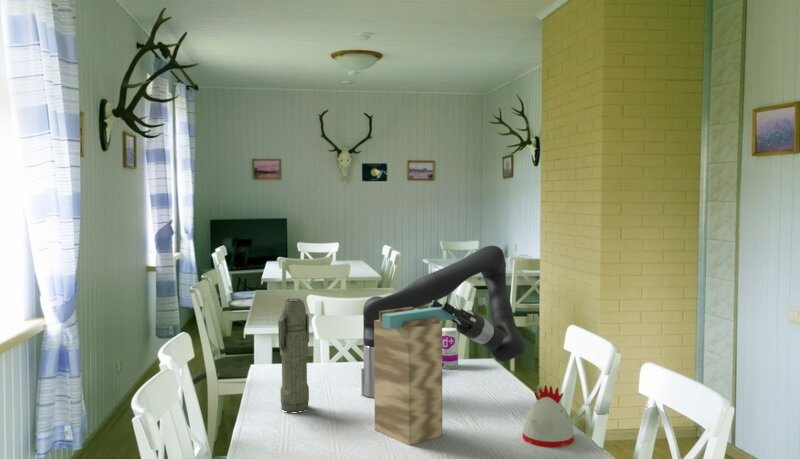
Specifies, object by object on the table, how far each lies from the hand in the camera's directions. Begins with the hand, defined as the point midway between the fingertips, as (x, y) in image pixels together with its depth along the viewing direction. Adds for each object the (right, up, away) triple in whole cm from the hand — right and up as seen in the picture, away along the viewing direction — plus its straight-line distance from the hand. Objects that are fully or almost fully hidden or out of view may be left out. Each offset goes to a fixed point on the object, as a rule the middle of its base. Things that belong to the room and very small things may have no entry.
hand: (438, 304), depth 206 cm
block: (-5, -5, -4) cm, 8 cm away
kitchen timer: (+30, -37, -6) cm, 48 cm away
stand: (-9, -37, -1) cm, 38 cm away
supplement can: (+8, -33, +76) cm, 83 cm away
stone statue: (-44, -36, +23) cm, 61 cm away
